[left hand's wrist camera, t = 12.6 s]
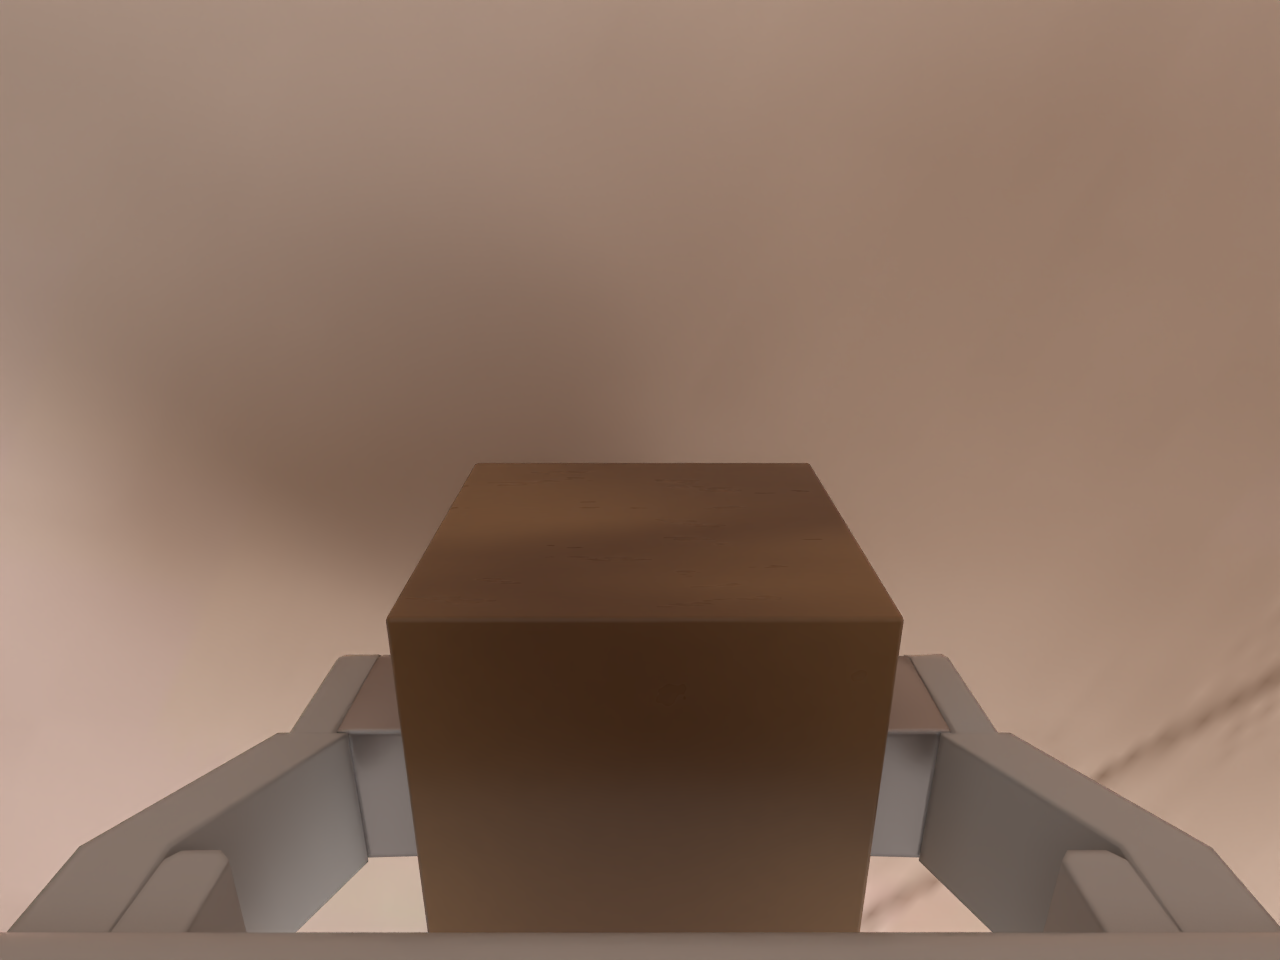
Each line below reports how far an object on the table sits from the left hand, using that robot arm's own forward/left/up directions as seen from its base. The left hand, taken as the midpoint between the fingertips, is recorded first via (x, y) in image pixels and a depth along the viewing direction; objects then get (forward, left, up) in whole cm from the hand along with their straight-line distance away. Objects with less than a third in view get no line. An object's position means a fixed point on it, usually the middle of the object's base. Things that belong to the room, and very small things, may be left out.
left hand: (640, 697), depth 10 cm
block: (0, 0, -2) cm, 2 cm away
